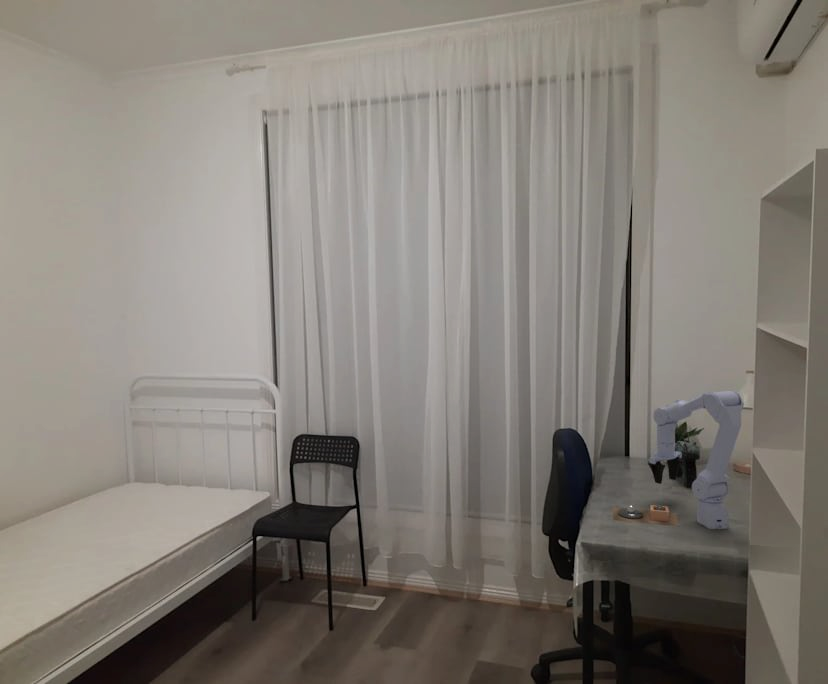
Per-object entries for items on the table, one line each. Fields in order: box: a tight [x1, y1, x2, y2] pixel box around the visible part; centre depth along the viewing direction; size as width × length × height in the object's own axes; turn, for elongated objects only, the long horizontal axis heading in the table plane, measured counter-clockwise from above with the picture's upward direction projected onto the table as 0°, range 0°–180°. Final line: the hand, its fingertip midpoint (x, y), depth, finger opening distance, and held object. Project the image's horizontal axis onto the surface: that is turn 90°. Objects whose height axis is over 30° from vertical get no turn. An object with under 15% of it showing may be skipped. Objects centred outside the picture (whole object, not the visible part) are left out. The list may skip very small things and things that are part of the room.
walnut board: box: [612, 507, 680, 527], centre depth 206 cm, size 20×12×2 cm, turn 72°
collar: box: [649, 504, 670, 521], centre depth 204 cm, size 5×5×3 cm
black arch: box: [675, 432, 701, 489], centre depth 246 cm, size 20×6×20 cm, turn 173°
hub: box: [619, 505, 643, 519], centre depth 207 cm, size 8×8×3 cm
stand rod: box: [655, 505, 663, 511], centre depth 204 cm, size 2×2×4 cm
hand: (665, 481), depth 217 cm, fingers open, 7 cm apart
